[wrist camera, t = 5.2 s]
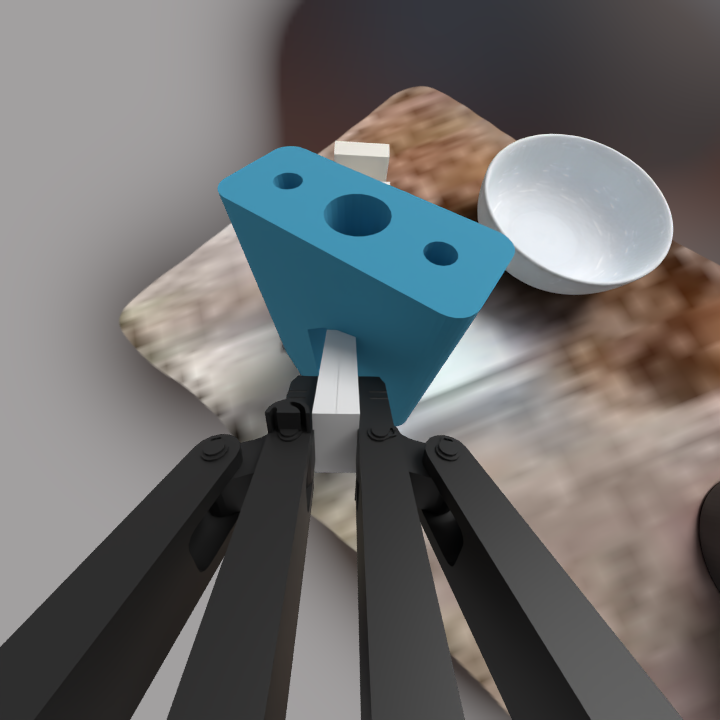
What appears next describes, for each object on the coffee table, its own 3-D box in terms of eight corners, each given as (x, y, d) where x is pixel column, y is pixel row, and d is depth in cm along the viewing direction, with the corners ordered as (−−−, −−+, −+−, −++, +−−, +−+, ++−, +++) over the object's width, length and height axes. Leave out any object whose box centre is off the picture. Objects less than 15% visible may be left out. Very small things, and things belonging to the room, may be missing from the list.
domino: (377, 235, 34) (389, 157, 25) (338, 234, 34) (334, 154, 24) (377, 225, 35) (389, 144, 25) (338, 223, 34) (335, 141, 25)
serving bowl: (615, 204, 39) (671, 156, 32) (611, 335, 33) (677, 309, 26) (474, 166, 39) (500, 112, 33) (445, 287, 34) (469, 250, 27)
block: (414, 406, 28) (522, 242, 10) (388, 447, 26) (468, 328, 8) (323, 347, 31) (288, 142, 13) (294, 380, 29) (207, 188, 11)
